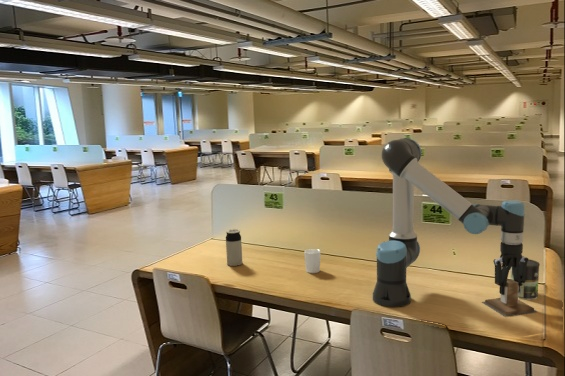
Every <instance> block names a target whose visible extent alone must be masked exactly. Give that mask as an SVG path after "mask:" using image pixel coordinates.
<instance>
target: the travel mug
mask: <svg viewBox="0 0 565 376" xmlns="http://www.w3.org/2000/svg"><path fill="white" fill-rule="evenodd" d="M225 233H226V236H225V247H226V249H225V250H226V265H227V266H230V267H237V265H239V266H241V265H243V246H242V235H241V234H240V233H241V230H240V229H239V228H232V229H226V230H225Z"/></svg>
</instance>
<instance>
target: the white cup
mask: <svg viewBox="0 0 565 376" xmlns="http://www.w3.org/2000/svg"><path fill="white" fill-rule="evenodd" d="M303 251H304V254H303V255H304V264H305V271H306V273H308V274H316V273H319V272H320V267H321V250H320V249H316V248H310V249H309V248H308V249H305V250H303Z"/></svg>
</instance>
